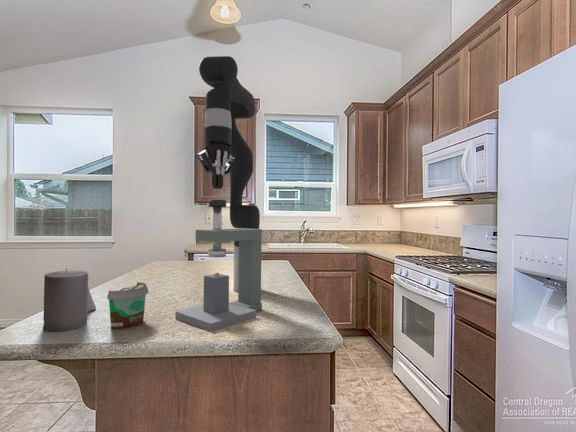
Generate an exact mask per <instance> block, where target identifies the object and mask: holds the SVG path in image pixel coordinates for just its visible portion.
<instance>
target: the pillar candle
mask: <svg viewBox="0 0 576 432" xmlns="http://www.w3.org/2000/svg"><path fill="white" fill-rule="evenodd" d="M88 277H89V272H88V271H85V270H68V268H65V270H60V271H52V272H47V273H45V274H44V277H43V278H44V284H43V326H42V329H43V330H44V331H46V332H65V331H71V330H76V329H78V328H82V327H84V326H86V325H87V322H88V312H87V294H88V287H89V279H88Z"/></svg>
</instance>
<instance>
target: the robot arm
mask: <svg viewBox="0 0 576 432" xmlns="http://www.w3.org/2000/svg"><path fill="white" fill-rule="evenodd" d="M238 70H239V69H238V64H237V62H236V60H235V58H233V57H232V56H229V55H225V56H224V55H221V56H220V55H219V56H218V55H217V56H206V57H203V58H202V59H201V60H200V62H199V65H198V72H199V75H200V77H201V80H202V81H203V82H204V83H205V84H206V85H208V86H210V87H211V89H209V90H207V91H206V93H205V114H204V137H203V138H204V139H203V141H204V148H203V150H202V151H201V152H199V153H197V154H196V156H197V158H198V160H199V162H200V163H201V166H202V167H203V168H204V170H205V172H206V173H209V174H210V175H211V185H212V188H213V189H214V190H221V189H222V188H223V187H224V176H225V175H228V174H229V185H230V188H229V189H230V192H229V195H230V196H229V199H230V200H229V220H230V221H229V222H230V225H231V226H232V227H233V229H240V228H241V229H260V220H261V216H260V214H261V213H260V209H259V207H258V205H255V204H243V196H244V191H245V189H246V187H247V185H248V183H249V181H250V180H251V177H252V175H253V173H254V156H253V155H254V154H253V152H252V150H251V148H250V146H249V145H248V143H247V142H246V140H245V139H244V137H243V136H242V133H241V132H240V131H239V128H238V125H237V121H236V120H240V119H242V120H243V119H251V118H253V117H255V115H256V100H255V98H254V96H253V94H252V93H251V92H250V91H249V90H248V89H247V88H246V87H244V86H243V85H242V84H241V83H240V81H239V79H238V77H237V76H238V73H239V71H238ZM238 286H239V241H233V291H235V292H238Z"/></svg>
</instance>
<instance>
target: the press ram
mask: <svg viewBox="0 0 576 432" xmlns="http://www.w3.org/2000/svg"><path fill="white" fill-rule="evenodd" d="M207 205H208V208H212V229H213V230H215V231H216V230H221V229H223V228H222V221H223V220H222V215H223V211H222V210H223V209H222V208H227V199H208V202H207ZM226 256H227V248H223V247H222V242H212V248H208V249H207V257H208V258H224V257H226Z"/></svg>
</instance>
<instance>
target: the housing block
mask: <svg viewBox="0 0 576 432" xmlns="http://www.w3.org/2000/svg"><path fill="white" fill-rule="evenodd" d="M229 303H230V275H227V274H222V273H220V272H214V273H213V274H207V275H203V305H204V311H205V312H208V313H212V314H218V313H222V312H226V311H229Z"/></svg>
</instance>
